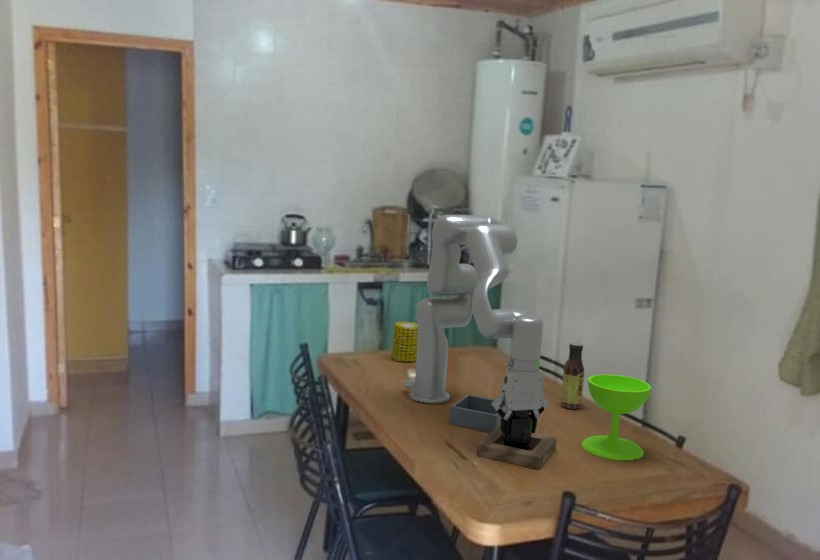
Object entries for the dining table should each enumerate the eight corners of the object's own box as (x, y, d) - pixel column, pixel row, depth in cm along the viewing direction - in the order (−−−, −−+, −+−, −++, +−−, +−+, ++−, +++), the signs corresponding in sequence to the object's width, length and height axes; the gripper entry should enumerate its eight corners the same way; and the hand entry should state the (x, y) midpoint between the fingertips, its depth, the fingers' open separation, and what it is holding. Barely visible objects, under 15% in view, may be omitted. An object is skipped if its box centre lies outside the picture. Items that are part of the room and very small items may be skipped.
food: (410, 360, 283) (418, 368, 274) (381, 353, 280) (388, 362, 270) (422, 322, 282) (430, 329, 272) (393, 315, 278) (400, 322, 268)
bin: (449, 423, 210) (450, 406, 210) (466, 410, 223) (467, 394, 222) (495, 433, 205) (496, 415, 204) (510, 419, 217) (511, 403, 216)
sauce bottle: (581, 411, 229) (587, 347, 226) (560, 408, 230) (566, 345, 227) (580, 404, 235) (586, 343, 233) (560, 402, 237) (566, 341, 234)
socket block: (476, 455, 188) (477, 444, 187) (496, 436, 202) (497, 426, 202) (539, 469, 181) (540, 457, 181) (555, 449, 196) (556, 438, 195)
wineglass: (647, 445, 203) (654, 381, 200) (639, 465, 188) (647, 396, 185) (587, 434, 209) (594, 371, 206) (575, 452, 194) (582, 385, 192)
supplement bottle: (497, 448, 192) (501, 403, 190) (512, 442, 197) (516, 398, 195) (520, 456, 187) (525, 410, 185) (535, 450, 192) (539, 405, 191)
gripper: (499, 369, 182) (493, 439, 185) (562, 367, 188) (555, 435, 191) (486, 361, 189) (480, 429, 192) (546, 359, 195) (540, 425, 198)
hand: (518, 431), depth 191 cm, fingers closed on supplement bottle, 6 cm apart
